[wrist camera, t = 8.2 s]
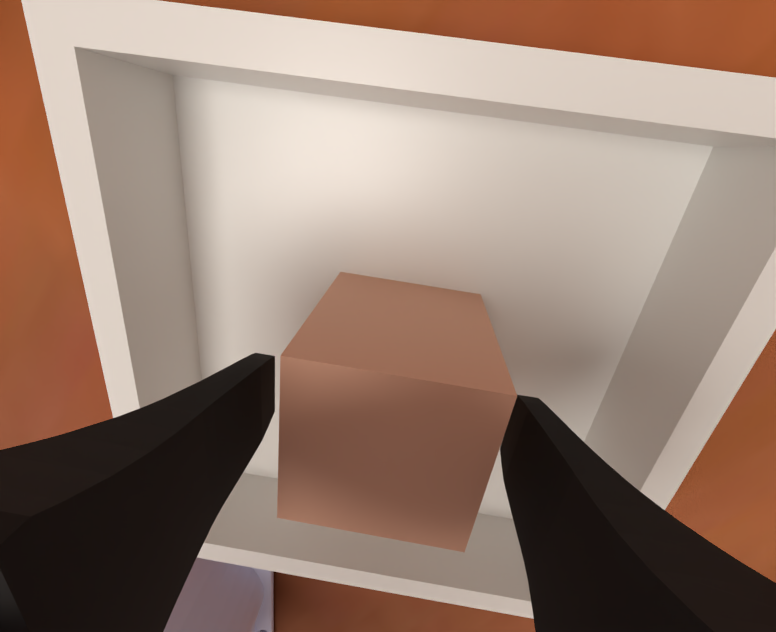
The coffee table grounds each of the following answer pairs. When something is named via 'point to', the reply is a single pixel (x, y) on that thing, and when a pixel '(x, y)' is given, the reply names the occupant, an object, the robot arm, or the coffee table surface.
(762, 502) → the coffee table surface
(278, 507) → the brown cube block
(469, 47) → the tray
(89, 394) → the coffee table surface
